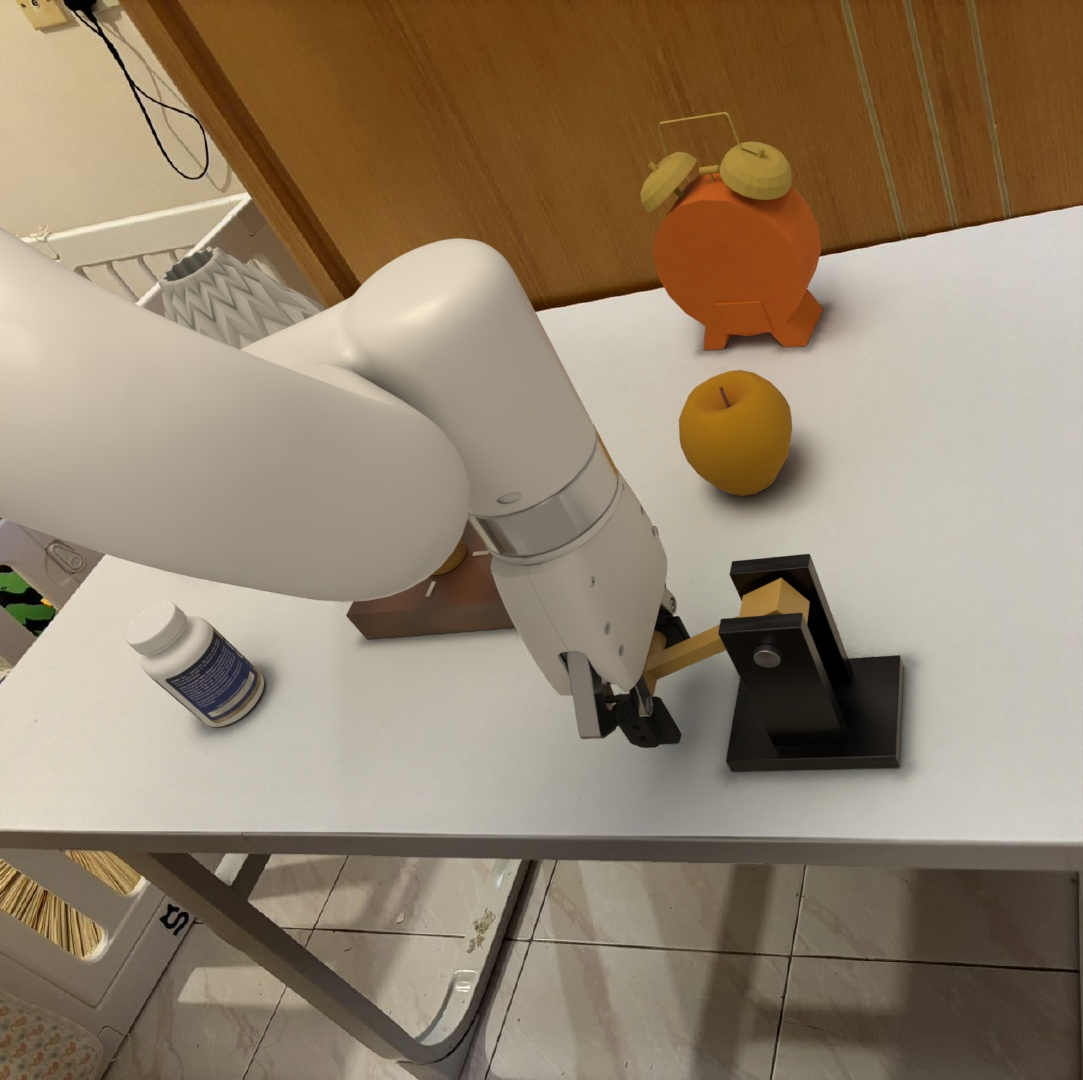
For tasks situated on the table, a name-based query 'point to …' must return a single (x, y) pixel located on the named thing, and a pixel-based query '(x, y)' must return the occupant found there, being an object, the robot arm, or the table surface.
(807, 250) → the alarm clock
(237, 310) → the vase
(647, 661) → the door handle
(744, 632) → the handle bracket
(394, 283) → the robot arm
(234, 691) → the pill bottle
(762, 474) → the apple
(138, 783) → the table surface
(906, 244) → the table surface
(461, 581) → the brown dial base
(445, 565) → the dial knob
